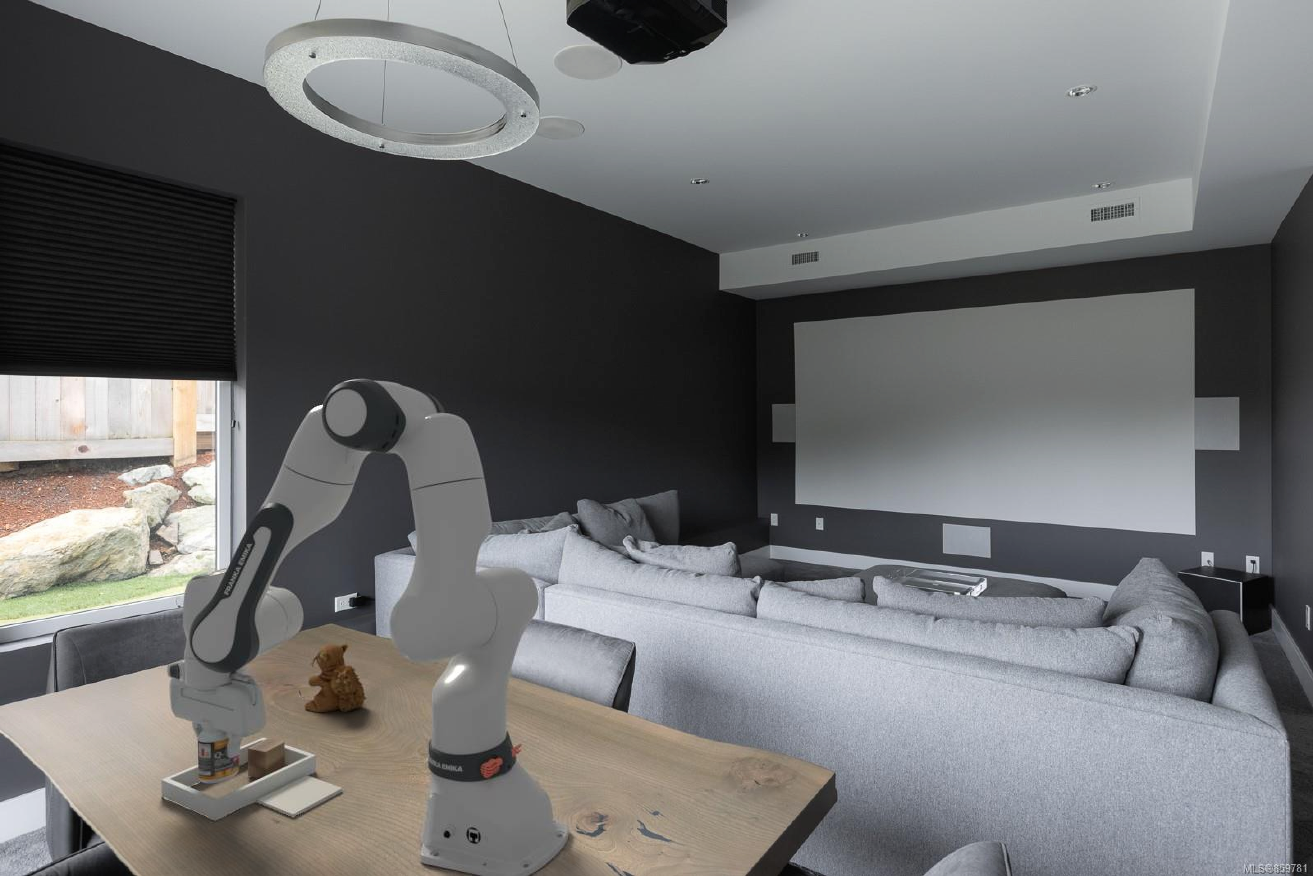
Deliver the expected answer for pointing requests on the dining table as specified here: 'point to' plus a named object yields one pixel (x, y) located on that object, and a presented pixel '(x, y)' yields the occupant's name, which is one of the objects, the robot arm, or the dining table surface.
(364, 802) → the dining table surface
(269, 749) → the walnut block
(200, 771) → the pill bottle
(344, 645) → the stuffed squirrel
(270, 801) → the coaster
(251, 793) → the tray frame
